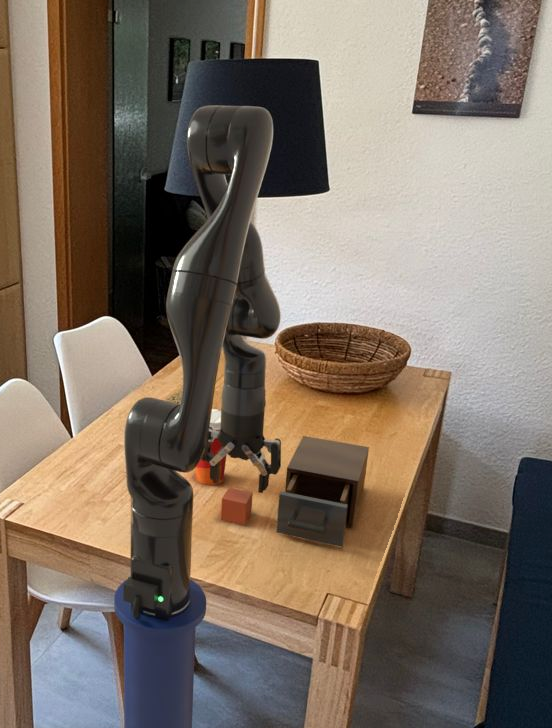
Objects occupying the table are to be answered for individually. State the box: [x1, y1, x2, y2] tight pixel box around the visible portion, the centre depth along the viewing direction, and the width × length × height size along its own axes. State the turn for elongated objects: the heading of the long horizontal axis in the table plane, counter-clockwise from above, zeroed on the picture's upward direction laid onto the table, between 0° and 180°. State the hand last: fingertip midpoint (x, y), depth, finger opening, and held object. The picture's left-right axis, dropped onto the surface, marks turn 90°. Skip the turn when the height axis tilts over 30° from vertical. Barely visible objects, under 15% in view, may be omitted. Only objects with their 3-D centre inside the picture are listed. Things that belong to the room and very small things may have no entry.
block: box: [220, 486, 254, 526], centre depth 142 cm, size 5×5×5 cm
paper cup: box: [194, 408, 227, 486], centre depth 154 cm, size 8×8×14 cm
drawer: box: [275, 473, 353, 548], centre depth 137 cm, size 18×11×8 cm, turn 156°
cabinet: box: [284, 435, 370, 528], centre depth 146 cm, size 15×13×10 cm
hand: (238, 486), depth 141 cm, fingers open, 8 cm apart
